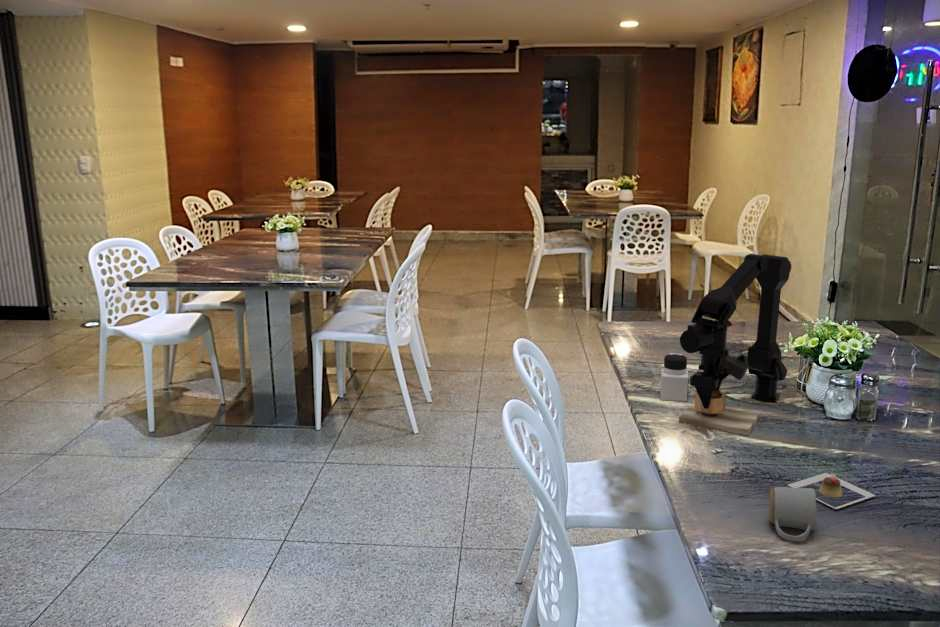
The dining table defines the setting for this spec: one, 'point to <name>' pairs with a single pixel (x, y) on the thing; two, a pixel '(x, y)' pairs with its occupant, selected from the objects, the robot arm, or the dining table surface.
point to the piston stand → (721, 420)
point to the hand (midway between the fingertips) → (710, 404)
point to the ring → (712, 403)
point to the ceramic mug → (793, 510)
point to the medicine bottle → (674, 378)
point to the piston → (709, 413)
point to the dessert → (832, 487)
